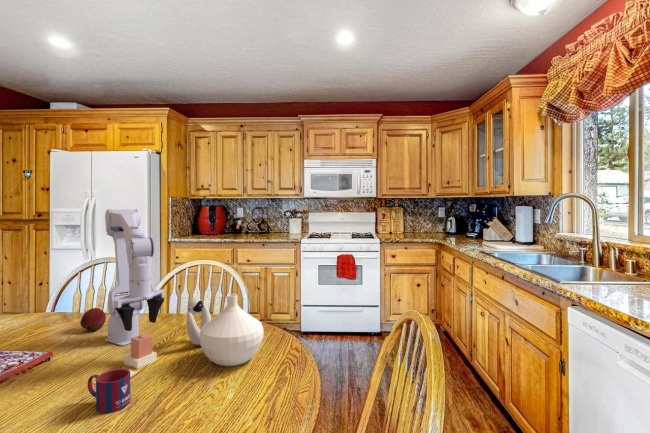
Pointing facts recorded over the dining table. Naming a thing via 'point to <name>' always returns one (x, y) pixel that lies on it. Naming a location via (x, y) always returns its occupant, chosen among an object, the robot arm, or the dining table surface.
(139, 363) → the base brick
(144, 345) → the red brick
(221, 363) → the vase
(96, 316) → the apple
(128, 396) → the mug
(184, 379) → the dining table surface
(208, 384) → the dining table surface
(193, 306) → the toy
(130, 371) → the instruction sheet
